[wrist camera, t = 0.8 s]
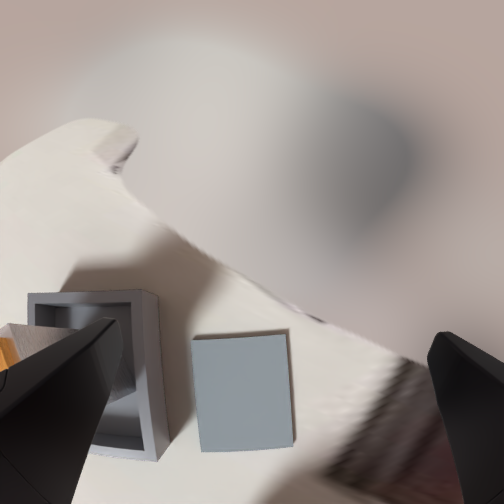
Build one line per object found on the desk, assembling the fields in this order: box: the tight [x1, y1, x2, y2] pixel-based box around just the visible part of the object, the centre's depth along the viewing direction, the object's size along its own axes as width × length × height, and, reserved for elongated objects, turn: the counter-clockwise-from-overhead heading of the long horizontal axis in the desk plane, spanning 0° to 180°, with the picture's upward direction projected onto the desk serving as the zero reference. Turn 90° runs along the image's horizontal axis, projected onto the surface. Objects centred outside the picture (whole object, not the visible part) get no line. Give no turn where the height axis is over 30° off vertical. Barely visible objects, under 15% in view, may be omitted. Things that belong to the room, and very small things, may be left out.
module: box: [0, 323, 137, 405], centre depth 15 cm, size 5×5×13 cm
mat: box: [191, 334, 293, 452], centre depth 22 cm, size 9×7×1 cm
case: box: [28, 289, 170, 462], centre depth 21 cm, size 12×10×4 cm
